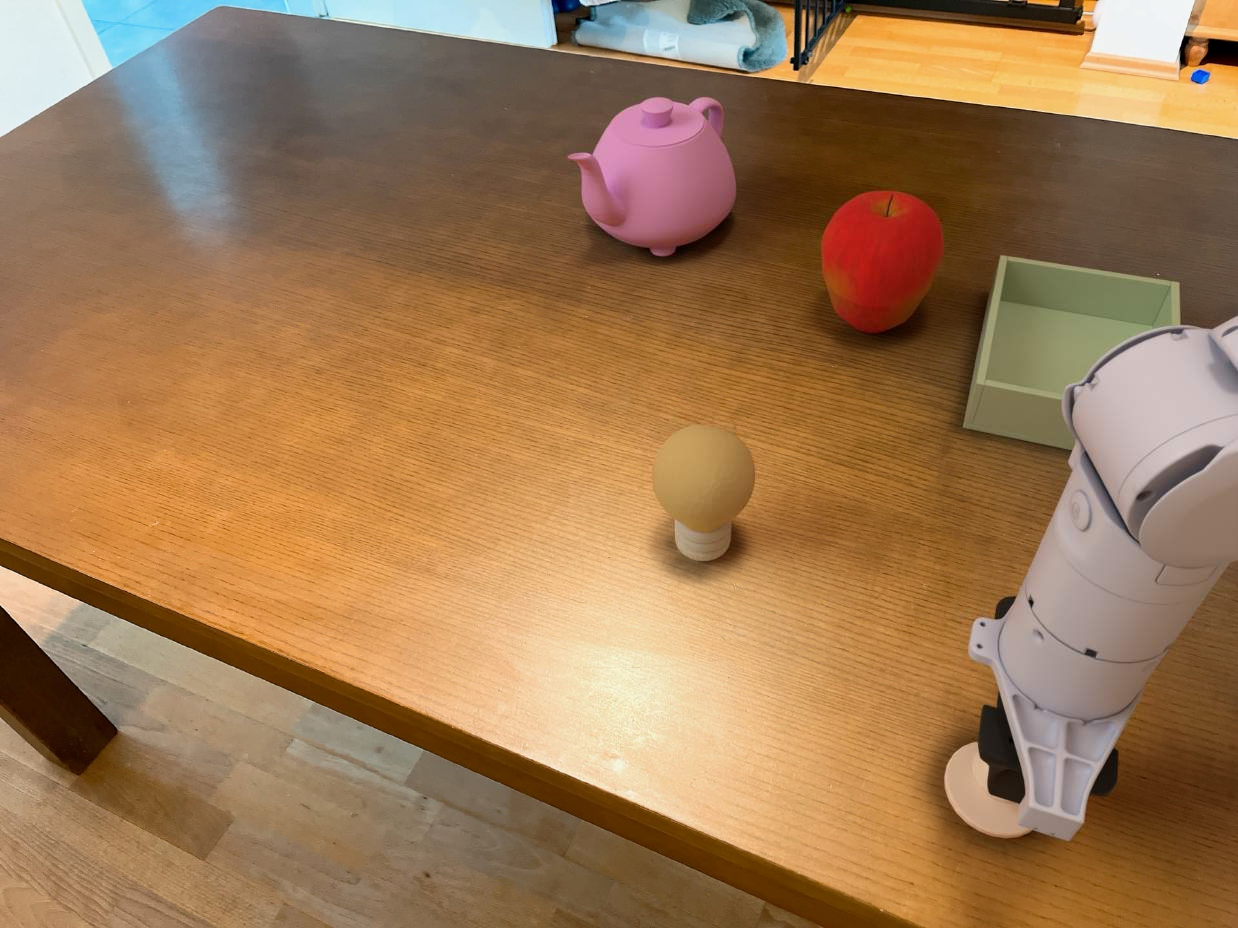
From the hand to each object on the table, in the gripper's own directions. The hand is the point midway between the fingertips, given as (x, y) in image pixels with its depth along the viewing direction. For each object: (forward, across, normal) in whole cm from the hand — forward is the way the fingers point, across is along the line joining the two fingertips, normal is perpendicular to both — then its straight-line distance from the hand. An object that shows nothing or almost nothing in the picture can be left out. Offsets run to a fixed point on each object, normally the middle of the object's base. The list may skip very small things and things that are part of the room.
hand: (1014, 753), depth 47 cm
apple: (+5, -38, -14) cm, 41 cm away
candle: (+5, 0, 0) cm, 5 cm away
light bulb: (+5, -11, -20) cm, 23 cm away
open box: (+4, -36, +2) cm, 36 cm away
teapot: (+5, -46, -36) cm, 59 cm away
